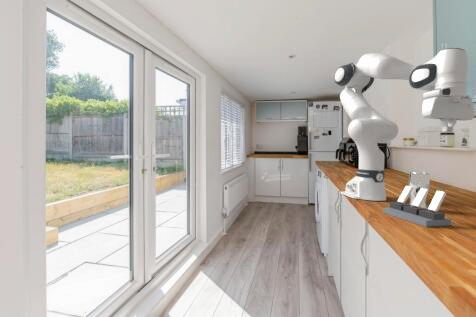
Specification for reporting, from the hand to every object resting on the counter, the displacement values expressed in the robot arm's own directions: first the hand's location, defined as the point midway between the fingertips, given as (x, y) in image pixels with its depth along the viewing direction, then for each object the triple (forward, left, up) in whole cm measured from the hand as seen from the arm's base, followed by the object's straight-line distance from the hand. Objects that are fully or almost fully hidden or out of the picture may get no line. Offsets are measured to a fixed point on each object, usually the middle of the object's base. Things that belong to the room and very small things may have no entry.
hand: (447, 131), depth 91 cm
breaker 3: (+8, -15, -27) cm, 32 cm away
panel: (+2, -15, -31) cm, 35 cm away
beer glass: (-10, 0, -31) cm, 33 cm away
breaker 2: (+2, -15, -27) cm, 31 cm away
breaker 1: (-4, -15, -27) cm, 31 cm away
